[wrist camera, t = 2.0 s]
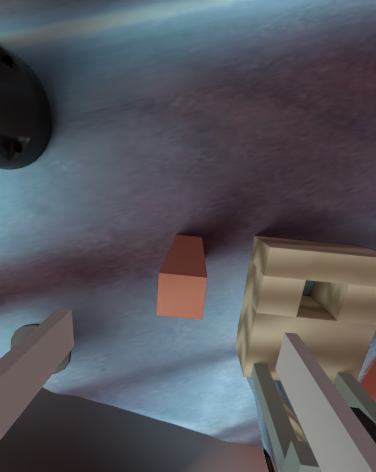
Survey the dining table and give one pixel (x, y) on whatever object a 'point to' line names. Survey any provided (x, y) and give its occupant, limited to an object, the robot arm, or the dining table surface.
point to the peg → (183, 279)
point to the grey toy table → (280, 428)
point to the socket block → (308, 304)
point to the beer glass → (264, 434)
